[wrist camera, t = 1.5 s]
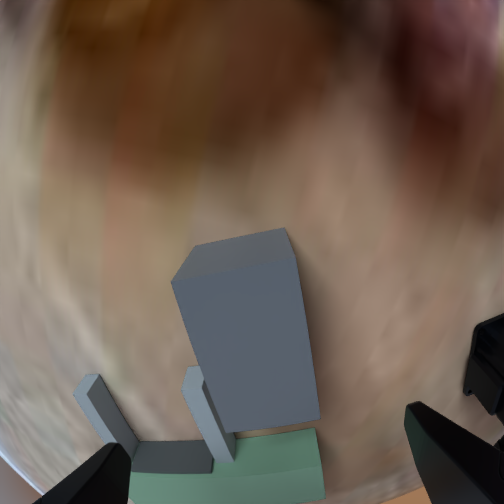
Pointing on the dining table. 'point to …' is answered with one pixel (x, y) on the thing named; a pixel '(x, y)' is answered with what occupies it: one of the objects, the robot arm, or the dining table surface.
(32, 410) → the dining table surface
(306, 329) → the slate gray cuboid
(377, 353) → the dining table surface
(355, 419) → the dining table surface
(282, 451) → the green and blue-gray block
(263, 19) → the dining table surface
